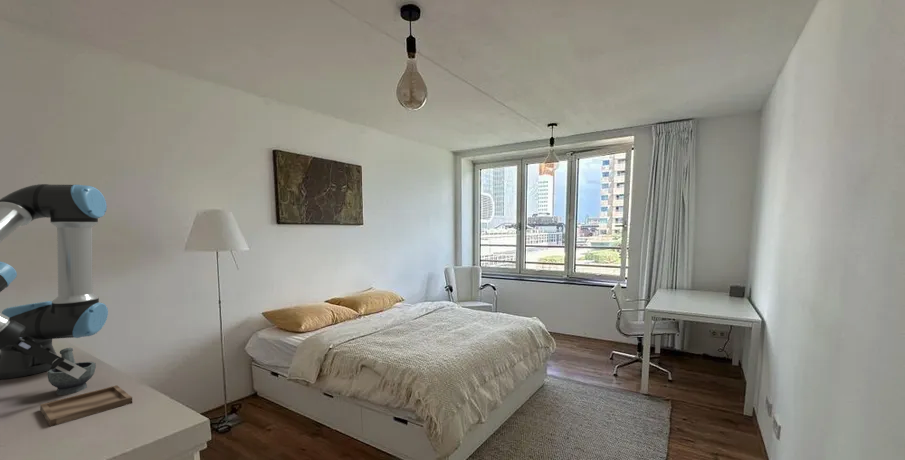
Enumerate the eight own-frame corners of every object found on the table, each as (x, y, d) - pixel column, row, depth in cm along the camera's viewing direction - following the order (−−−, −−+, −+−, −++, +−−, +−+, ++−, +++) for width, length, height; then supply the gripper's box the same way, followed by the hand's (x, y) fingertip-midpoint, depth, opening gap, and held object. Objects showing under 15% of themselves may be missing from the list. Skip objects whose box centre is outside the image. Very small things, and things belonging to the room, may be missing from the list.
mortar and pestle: (99, 387, 109) (100, 347, 109) (55, 399, 100) (55, 356, 101) (85, 381, 114) (85, 343, 114) (41, 392, 106) (42, 351, 106)
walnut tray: (40, 410, 94) (40, 404, 94) (116, 390, 106) (116, 385, 106) (50, 426, 86) (50, 420, 86) (132, 402, 98) (132, 397, 98)
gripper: (-31, 337, 99) (48, 374, 112) (-12, 350, 86) (75, 390, 99) (0, 314, 104) (73, 352, 116) (23, 323, 91) (101, 365, 104)
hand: (74, 370), depth 108 cm, fingers open, 13 cm apart
